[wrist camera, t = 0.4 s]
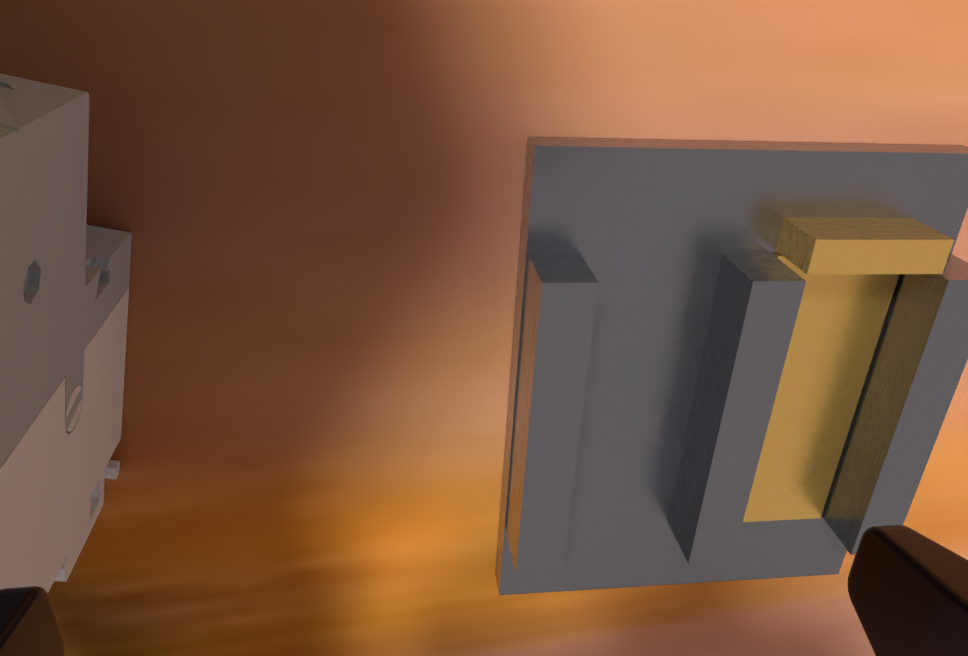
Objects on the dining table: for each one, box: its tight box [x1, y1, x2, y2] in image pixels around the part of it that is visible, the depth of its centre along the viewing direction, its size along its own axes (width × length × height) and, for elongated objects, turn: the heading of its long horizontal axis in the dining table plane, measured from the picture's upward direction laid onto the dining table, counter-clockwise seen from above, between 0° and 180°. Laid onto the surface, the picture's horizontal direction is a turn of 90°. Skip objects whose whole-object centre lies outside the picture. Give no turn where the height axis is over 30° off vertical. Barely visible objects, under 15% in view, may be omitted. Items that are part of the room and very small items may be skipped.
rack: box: [495, 137, 968, 595], centre depth 24 cm, size 16×13×3 cm
